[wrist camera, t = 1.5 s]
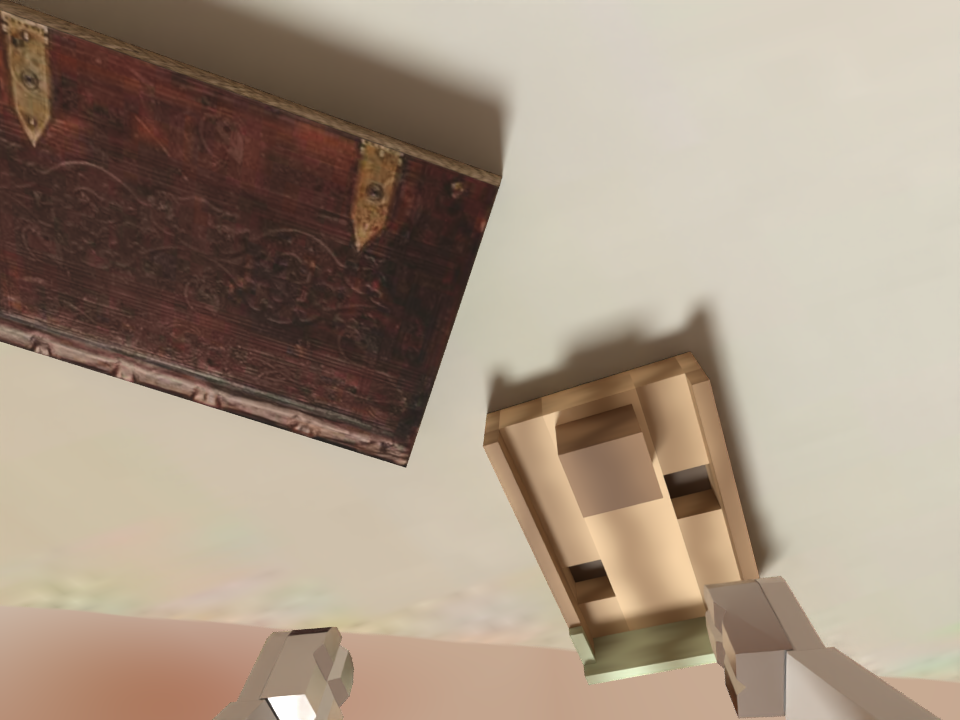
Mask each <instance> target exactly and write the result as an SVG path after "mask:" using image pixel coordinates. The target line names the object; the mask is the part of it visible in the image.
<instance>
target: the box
mask: <svg viewBox="0 0 960 720" xmlns="http://www.w3.org/2000/svg"><path fill="white" fill-rule="evenodd" d="M629 404H632V406H633V409H634V411H635V414H636V417H637V420H638V422H639V425H640V428H641V430H642V433H643V436H644V440H645V443H646V446H647V449H648V452H649V455H650V458H651V461H652V464H653V467H654V470H655V474H656V477H657V480H658V483H659V486H660V489H661V492H662V495H663V498H661V499H657V500H653V501H649V502H645V503H641V504H637V505H633V506H629V507H625V508H621V509H617V510H613V511H609V512H605V513H601V514H597V515H593V516H589V517H585V518H583V516H582V513H581V511H580V508H579V506H578V504H577V501H576V499H575V496H574V494H573V491H572V489H571V486H570V484H569V481H568V479H567V477H566V474H565V472H564V469H563V467H562V464H561V462H560V459H559V457H558V451H557V441H556V431H555V426H557V425H561V424H564V423H568V422H571V421H574V420H578V419H581V418H585V417H588V416H592V415H595V414H598V413H602V412H605V411H609V410H612V409H615V408H619V407H622V406H626V405H629ZM483 447H484V449H485V452H486V454H487V456H488V458H489V460H490V462H491V464H492V466H493V469H494V471H495V473H496V475H497V477H498V479H499V481H500V483H501V485H502V488H503V490H504V492H505V494H506V496H507V498H508V500H509V502H510V505H511V507H512V509H513V511H514V513H515V515H516V517H517V519H518V522H519V524H520V526H521V528H522V530H523V532H524V534H525V536H526V538H527V541H528V543H529V545H530V547H531V549H532V551H533V553H534V555H535V558H536V560H537V562H538V564H539V566H540V568H541V570H542V572H543V575H544V577H545V579H546V581H547V583H548V585H549V587H550V589H551V591H552V594H553V596H554V598H555V600H556V602H557V604H558V606H559V608H560V611H561V613H562V615H563V617H564V619H565V621H566V623H567V625H568V628H569V634H570V638H571V640H572V642H573V644H574V646H575V648H576V650H577V652H578V654H579V656H580V659H581V661H582V663H583V665H584V673H585V678H586V680H587V682H588V684H589V685H591V684H596V683H602V682H608V681H613V680H619V679H624V678H630V677H636V676H641V675H647V674H653V673H659V672H664V671H670V670H676V669H681V668H687V667H692V666H698V665H704V664H710V663H715V662H717V661H716V658H715V655H714V652H713V650H712V646H711V643H710V640H709V635H708V631H707V626H706V617H705V613H706V612H707V611H708V607H707V604H706V602H705V599H704V585H708V584H716V583H724V582H732V581H740V580H748V579H753V580H754V579H759V574H758V570H757V566H756V562H755V558H754V554H753V550H752V546H751V542H750V538H749V534H748V530H747V526H746V522H745V518H744V514H743V510H742V506H741V502H740V498H739V494H738V490H737V487H736V483H735V479H734V475H733V471H732V467H731V463H730V459H729V455H728V451H727V447H726V443H725V439H724V435H723V431H722V427H721V423H720V419H719V415H718V411H717V407H716V403H715V399H714V395H713V391H712V387H711V383H710V380H709V378H708V377H707V375H706V374H705V372H704V371H703V369H702V368H701V366H700V365H699V364H698V362H697V361H696V359H695V358H694V356H693V355H692V353H691V352H687V353H684V354H681V355H677V356H674V357H671V358H668V359H664V360H661V361H658V362H655V363H651V364H648V365H645V366H642V367H638V368H635V369H632V370H629V371H625V372H622V373H619V374H616V375H612V376H609V377H606V378H603V379H599V380H596V381H593V382H590V383H586V384H583V385H580V386H577V387H573V388H570V389H567V390H564V391H560V392H557V393H554V394H551V395H547V396H544V397H541V398H538V399H534V400H531V401H528V402H525V403H521V404H518V405H515V406H512V407H508V408H505V409H502V410H499V411H495V412H492V413H489V414H487V417H486V426H485V434H484V443H483Z"/></svg>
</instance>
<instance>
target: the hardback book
mask: <svg viewBox="0 0 960 720" xmlns="http://www.w3.org/2000/svg"><path fill="white" fill-rule="evenodd" d="M501 179H502V177H501V176H499V175H496V174H493V173H490V172H487V171H485V170H482V169H479V168H476V167H473V166H471V165H468V164H465V163H462V162H459V161H457V160H454V159H451V158H448V157H445V156H443V155H440V154H437V153H434V152H431V151H429V150H426V149H423V148H420V147H417V146H415V145H412V144H409V143H406V142H403V141H401V140H398V139H395V138H392V137H389V136H387V135H384V134H381V133H378V132H375V131H373V130H370V129H367V128H364V127H361V126H359V125H356V124H353V123H350V122H347V121H345V120H342V119H339V118H336V117H333V116H331V115H328V114H325V113H322V112H319V111H317V110H314V109H311V108H308V107H305V106H303V105H300V104H297V103H294V102H291V101H289V100H286V99H283V98H280V97H277V96H274V95H272V94H269V93H266V92H263V91H260V90H258V89H255V88H252V87H249V86H246V85H244V84H241V83H238V82H235V81H232V80H230V79H227V78H224V77H221V76H218V75H216V74H213V73H210V72H207V71H204V70H202V69H199V68H196V67H193V66H190V65H188V64H185V63H182V62H179V61H176V60H174V59H171V58H168V57H165V56H162V55H160V54H157V53H154V52H151V51H148V50H146V49H143V48H140V47H137V46H134V45H132V44H129V43H126V42H123V41H120V40H118V39H115V38H112V37H109V36H106V35H104V34H101V33H98V32H95V31H92V30H90V29H87V28H84V27H81V26H78V25H76V24H73V23H70V22H67V21H64V20H62V19H59V18H56V17H53V16H50V15H48V14H45V13H42V12H39V11H36V10H34V9H31V8H28V7H25V6H22V5H20V4H17V3H14V2H11V1H8V0H0V342H4V343H7V344H10V345H13V346H17V347H20V348H23V349H26V350H29V351H33V352H36V353H39V354H42V355H46V356H49V357H52V358H55V359H58V360H62V361H65V362H68V363H71V364H74V365H78V366H81V367H84V368H87V369H91V370H94V371H97V372H100V373H103V374H107V375H110V376H113V377H116V378H119V379H123V380H126V381H129V382H132V383H136V384H139V385H142V386H145V387H148V388H152V389H155V390H158V391H161V392H165V393H168V394H171V395H174V396H177V397H181V398H184V399H187V400H190V401H193V402H197V403H200V404H203V405H206V406H210V407H213V408H216V409H219V410H222V411H226V412H229V413H232V414H235V415H238V416H242V417H245V418H248V419H251V420H255V421H258V422H261V423H264V424H267V425H271V426H274V427H277V428H280V429H284V430H287V431H290V432H293V433H296V434H300V435H303V436H306V437H309V438H312V439H316V440H319V441H322V442H325V443H329V444H332V445H335V446H338V447H341V448H345V449H348V450H351V451H354V452H357V453H361V454H364V455H367V456H370V457H374V458H377V459H380V460H383V461H386V462H390V463H393V464H396V465H399V466H403V467H406V466H407V463H408V460H409V457H410V454H411V451H412V448H413V445H414V442H415V439H416V436H417V433H418V430H419V427H420V424H421V421H422V418H423V415H424V412H425V409H426V406H427V403H428V400H429V397H430V394H431V391H432V388H433V385H434V382H435V379H436V376H437V373H438V370H439V367H440V364H441V361H442V358H443V355H444V352H445V349H446V346H447V343H448V340H449V337H450V334H451V331H452V328H453V325H454V322H455V319H456V316H457V313H458V310H459V307H460V304H461V301H462V298H463V295H464V292H465V289H466V286H467V282H468V279H469V276H470V273H471V270H472V267H473V264H474V261H475V258H476V255H477V252H478V249H479V246H480V243H481V240H482V237H483V234H484V231H485V228H486V225H487V222H488V219H489V216H490V213H491V210H492V207H493V204H494V201H495V198H496V195H497V192H498V189H499V186H500V183H501Z"/></svg>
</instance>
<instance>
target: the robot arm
mask: <svg viewBox="0 0 960 720" xmlns="http://www.w3.org/2000/svg"><path fill="white" fill-rule="evenodd" d="M704 599H705V602H706V604H707V607H708V611H707V612H706V613H705V617H706V626H707V631H708V635H709V640H710V643H711V646H712V650H713V652H714V655H715V658H716V661H717V663H718V664H719V665H721V666H722V667H723V668H724V672H725V685H726V687H727V690H728V692H729V695H730V698H731V700H732V703H733V706H734V708H735V711H736V713H737V716H738V718H756V717H777V716H785V718H786V720H941V719H940V718H938V717H937V716H935V715H934V714H932V713H931V712H929V711H928V710H926V709H925V708H923V707H922V706H920V705H919V704H917V703H916V702H915V701H913V700H912V699H910V698H909V697H907V696H906V695H904V694H903V693H901V692H900V691H898V690H897V689H895V688H894V687H892V686H891V685H889V684H888V683H886V682H885V681H883V680H882V679H881V678H879V677H878V676H876V675H875V674H873V673H872V672H870V671H869V670H867V669H866V668H864V667H863V666H861V665H860V664H858V663H857V662H855V661H854V660H852V659H851V658H849V657H848V656H846V655H845V654H844V653H842V652H841V651H839V650H838V649H836V648H835V647H825V646H824V644H823V642H822V641H821V639H820V637H819V636H818V634H817V632H816V631H815V629H814V627H813V626H812V624H811V622H810V621H809V619H808V617H807V616H806V614H805V612H804V611H803V609H802V607H801V606H800V604H799V602H798V601H797V599H796V597H795V596H794V594H793V592H792V590H791V589H790V587H789V585H788V584H787V582H786V580H785V579H783V578H782V577H781V576H777V577H768V578H759V579H754V580H753V579H748V580H740V581H732V582H724V583H716V584H708V585H704ZM341 639H342V636H341V634H340V632H339V630H338V628H337V627H327V628H315V629H303V630H293V631H283V632H273V633H272V634H271V635H270V636H269V637H268V638H267V639H266V641H265V644H264V646H263V648H262V650H261V652H260V654H259V656H258V658H257V660H256V662H255V664H254V666H253V668H252V671H251V673H250V675H249V677H248V679H247V681H246V683H245V685H244V687H243V689H242V691H241V693H240V696H239V698H238V700H237V702H232V703H229V705H228V706H226V707H225V708H224V709H223V710H222V711H221V712H220V713H219V714H218V715H217V716H216V717H215V718H214V719H213V720H343V714H342V712H341V709H340V706H341V705H342V704H343V703H344V702H345V701H346V699H347V698H348V697H349V696H350V692H351V688H352V685H353V672H354V671H353V670H354V667H353V662H352V657H351V655H350V653H349V651H348V650H347V649H345V648H344V647H342V646H341V645H340V642H341Z"/></svg>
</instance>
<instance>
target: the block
mask: <svg viewBox="0 0 960 720" xmlns="http://www.w3.org/2000/svg"><path fill="white" fill-rule="evenodd" d="M555 431H556V441H557V451H558V457H559V459H560V462H561V464H562V467H563V469H564V472H565V474H566V477H567V479H568V481H569V484H570V486H571V489H572V491H573V494H574V496H575V499H576V501H577V504H578V506H579V508H580V511H581V513H582V516H583V518H585V517H589V516H593V515H597V514H601V513H605V512H609V511H613V510H617V509H621V508H625V507H629V506H633V505H637V504H641V503H645V502H649V501H653V500H657V499H661V498H663V495H662V492H661V489H660V486H659V483H658V480H657V477H656V474H655V470H654V467H653V464H652V461H651V458H650V455H649V452H648V449H647V446H646V443H645V440H644V436H643V433H642V430H641V428H640V425H639V422H638V420H637V417H636V414H635V411H634V409H633V406H632V404H629V405H626V406H622V407H619V408H615V409H612V410H609V411H605V412H602V413H598V414H595V415H592V416H588V417H585V418H581V419H578V420H574V421H571V422H568V423H564V424H561V425H557V426H555Z"/></svg>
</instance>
